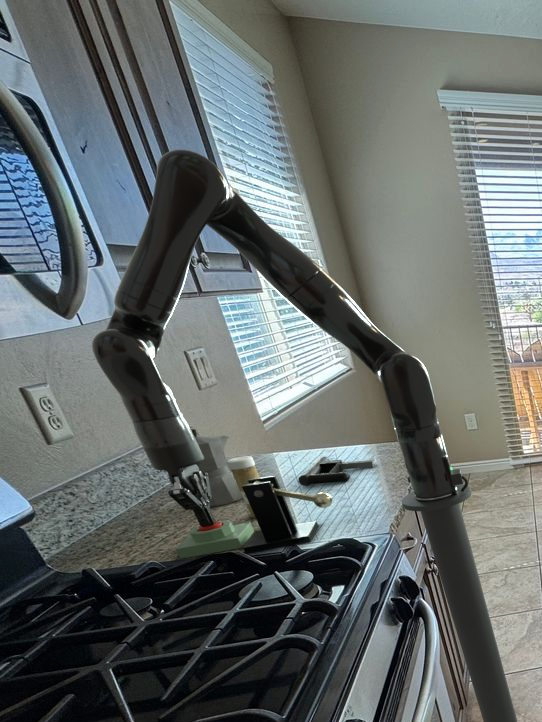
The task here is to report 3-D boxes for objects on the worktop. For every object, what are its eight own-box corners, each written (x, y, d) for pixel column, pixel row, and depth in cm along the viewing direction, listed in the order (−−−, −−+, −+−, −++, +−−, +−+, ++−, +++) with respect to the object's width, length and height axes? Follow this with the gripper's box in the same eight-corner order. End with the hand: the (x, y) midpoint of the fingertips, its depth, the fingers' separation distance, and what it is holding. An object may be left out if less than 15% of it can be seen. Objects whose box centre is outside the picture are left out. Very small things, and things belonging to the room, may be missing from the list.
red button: (226, 527, 116) (223, 519, 116) (221, 534, 113) (217, 526, 113) (205, 531, 115) (201, 523, 114) (199, 537, 112) (195, 529, 111)
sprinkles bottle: (256, 519, 127) (231, 462, 122) (247, 516, 129) (221, 460, 124) (278, 512, 131) (255, 456, 125) (269, 509, 133) (245, 454, 127)
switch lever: (332, 506, 119) (334, 492, 118) (329, 511, 116) (332, 497, 116) (254, 492, 113) (257, 477, 112) (250, 497, 110) (252, 482, 109)
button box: (254, 531, 121) (246, 514, 119) (242, 547, 113) (233, 529, 112) (196, 541, 117) (188, 524, 116) (180, 559, 110) (170, 540, 108)
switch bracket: (318, 526, 122) (296, 469, 116) (310, 541, 115) (286, 482, 109) (257, 536, 118) (232, 479, 113) (245, 553, 111) (217, 492, 105)
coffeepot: (240, 489, 148) (210, 421, 140) (263, 492, 144) (233, 423, 137) (170, 511, 135) (133, 437, 127) (193, 515, 132) (157, 440, 124)
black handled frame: (376, 452, 166) (312, 456, 161) (361, 471, 149) (290, 477, 144) (378, 462, 167) (315, 467, 162) (365, 483, 150) (294, 489, 145)
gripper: (180, 446, 102) (221, 532, 109) (205, 430, 113) (241, 510, 120) (126, 452, 99) (172, 541, 107) (158, 436, 110) (197, 517, 118)
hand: (208, 524), depth 113 cm, fingers closed
